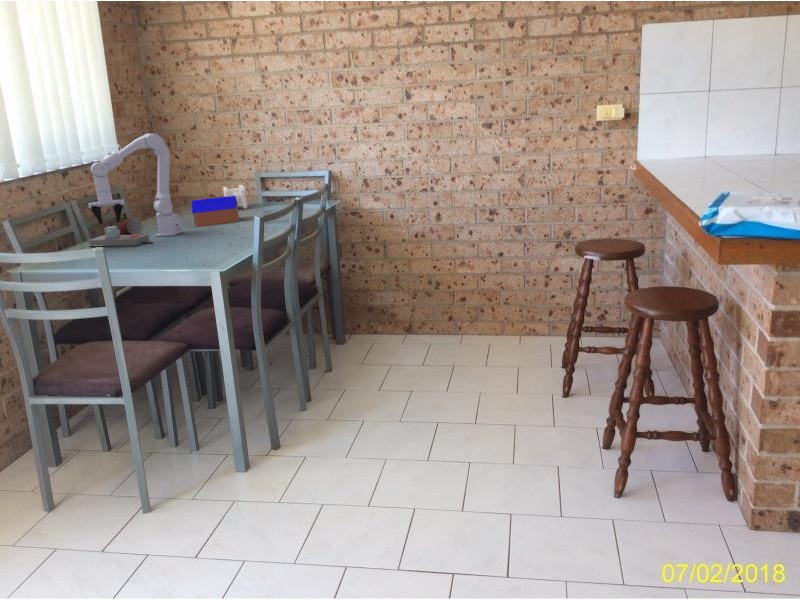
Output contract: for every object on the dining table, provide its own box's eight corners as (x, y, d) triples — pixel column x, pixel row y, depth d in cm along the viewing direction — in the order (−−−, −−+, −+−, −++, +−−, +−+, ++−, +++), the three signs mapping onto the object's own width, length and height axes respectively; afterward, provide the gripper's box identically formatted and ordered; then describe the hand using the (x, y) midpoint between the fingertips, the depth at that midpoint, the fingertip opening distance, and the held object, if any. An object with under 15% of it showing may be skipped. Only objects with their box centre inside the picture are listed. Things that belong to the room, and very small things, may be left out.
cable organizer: (226, 208, 391) (222, 186, 388) (246, 205, 394) (242, 183, 390) (227, 212, 377) (224, 189, 374) (248, 209, 380) (245, 186, 376)
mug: (122, 245, 339) (133, 243, 333) (108, 233, 335) (119, 231, 328) (134, 228, 344) (146, 225, 338) (121, 216, 340) (132, 213, 333)
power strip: (159, 240, 319) (157, 232, 318) (146, 245, 311) (144, 237, 310) (104, 242, 328) (102, 234, 327) (90, 247, 320) (88, 238, 319)
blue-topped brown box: (238, 222, 347) (234, 197, 343) (194, 227, 344) (190, 202, 341) (239, 218, 358) (235, 193, 355) (197, 223, 356) (193, 198, 352)
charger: (120, 241, 323) (116, 225, 321) (116, 243, 319) (113, 227, 317) (110, 242, 323) (107, 226, 321) (107, 244, 319) (104, 228, 317)
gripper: (123, 188, 319) (129, 219, 323) (89, 191, 319) (96, 222, 323) (118, 190, 312) (124, 222, 316) (83, 193, 312) (90, 225, 316)
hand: (110, 222), depth 319 cm, fingers open, 7 cm apart
